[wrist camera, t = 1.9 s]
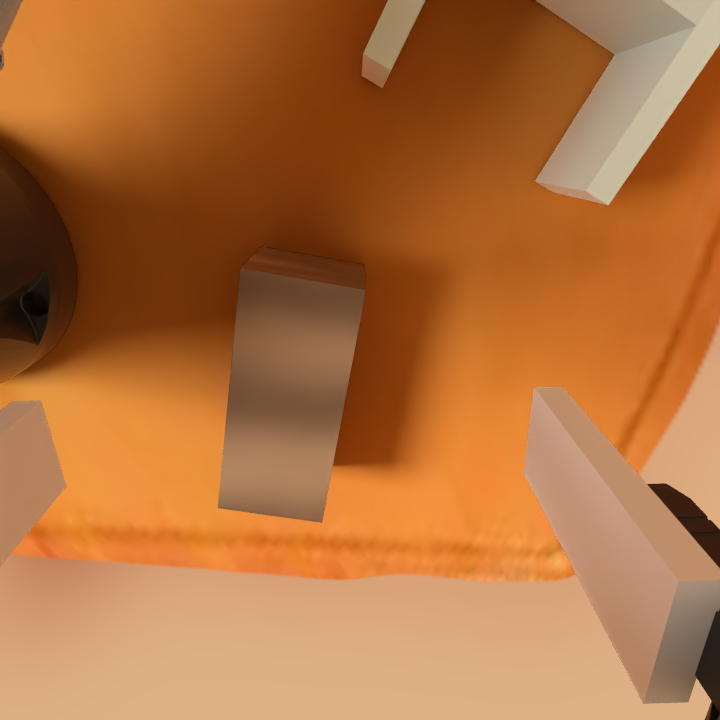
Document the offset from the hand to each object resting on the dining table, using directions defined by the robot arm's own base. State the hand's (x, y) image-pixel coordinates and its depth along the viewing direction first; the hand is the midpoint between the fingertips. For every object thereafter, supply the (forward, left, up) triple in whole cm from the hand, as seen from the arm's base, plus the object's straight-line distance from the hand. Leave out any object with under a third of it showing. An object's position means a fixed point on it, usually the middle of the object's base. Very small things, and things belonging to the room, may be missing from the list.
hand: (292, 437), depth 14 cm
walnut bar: (-4, -4, -18) cm, 19 cm away
